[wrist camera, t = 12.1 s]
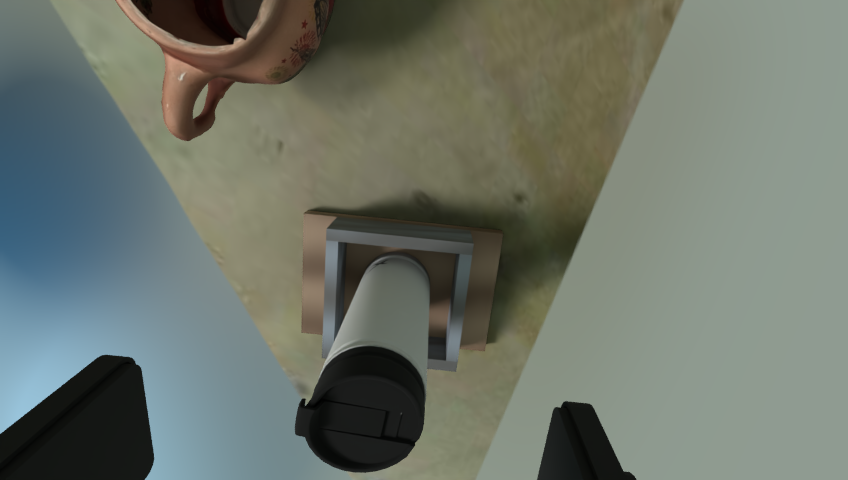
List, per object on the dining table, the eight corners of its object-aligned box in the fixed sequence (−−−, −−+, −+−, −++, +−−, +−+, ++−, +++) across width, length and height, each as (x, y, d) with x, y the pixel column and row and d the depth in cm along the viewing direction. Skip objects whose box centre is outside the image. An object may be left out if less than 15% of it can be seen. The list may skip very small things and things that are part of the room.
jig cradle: (307, 210, 41) (289, 224, 36) (501, 230, 41) (510, 247, 36) (305, 326, 44) (288, 354, 39) (483, 344, 44) (489, 374, 39)
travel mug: (366, 243, 40) (302, 367, 21) (436, 258, 40) (437, 394, 21) (354, 304, 42) (285, 470, 23) (422, 319, 42) (410, 494, 23)
